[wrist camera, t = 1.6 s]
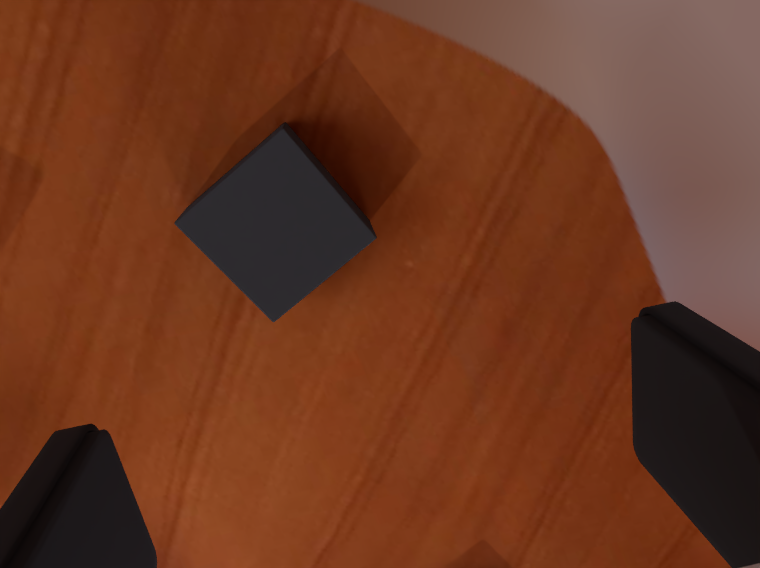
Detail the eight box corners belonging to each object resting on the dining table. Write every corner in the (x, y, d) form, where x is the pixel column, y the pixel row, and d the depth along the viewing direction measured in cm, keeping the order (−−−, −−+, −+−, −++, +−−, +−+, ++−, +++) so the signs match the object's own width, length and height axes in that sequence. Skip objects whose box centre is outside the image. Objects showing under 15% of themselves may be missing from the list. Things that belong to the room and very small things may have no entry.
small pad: (285, 121, 26) (283, 127, 23) (370, 221, 28) (377, 238, 25) (186, 207, 27) (173, 223, 24) (276, 298, 29) (273, 323, 26)
